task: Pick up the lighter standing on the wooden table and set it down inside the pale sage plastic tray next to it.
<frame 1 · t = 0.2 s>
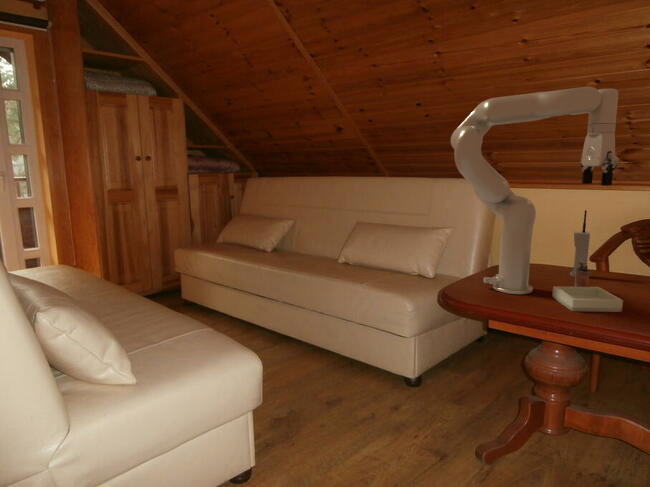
hand: (596, 184, 149), 36 cm above the table, tool pointing down, fingers open, 9 cm apart
tray: (585, 303, 142), on the table
lighter: (580, 291, 155), on the table
vintage mobile phone: (577, 276, 174), on the table
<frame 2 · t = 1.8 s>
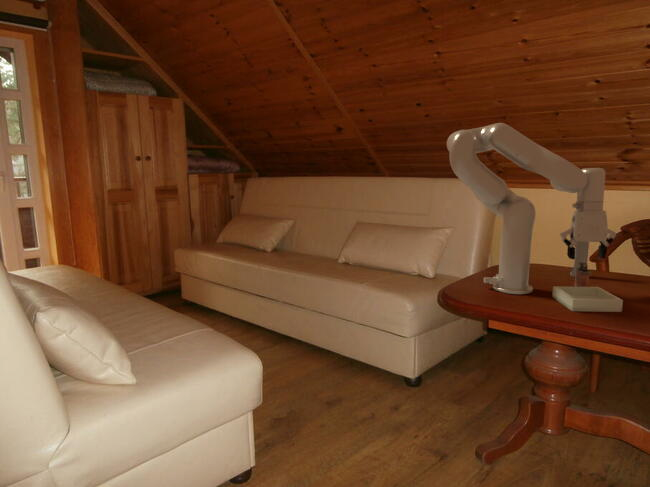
hand: (586, 258, 153), 11 cm above the table, tool pointing down, fingers open, 9 cm apart
nothing on the table moved.
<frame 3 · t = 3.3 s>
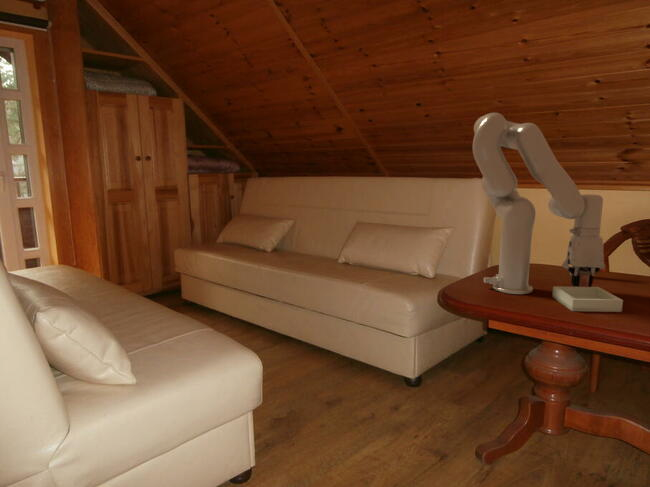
hand: (581, 285, 155), 2 cm above the table, tool pointing down, fingers closed on lighter, 3 cm apart
lighter: (580, 291, 155), on the table, touching gripper
everything else where it was.
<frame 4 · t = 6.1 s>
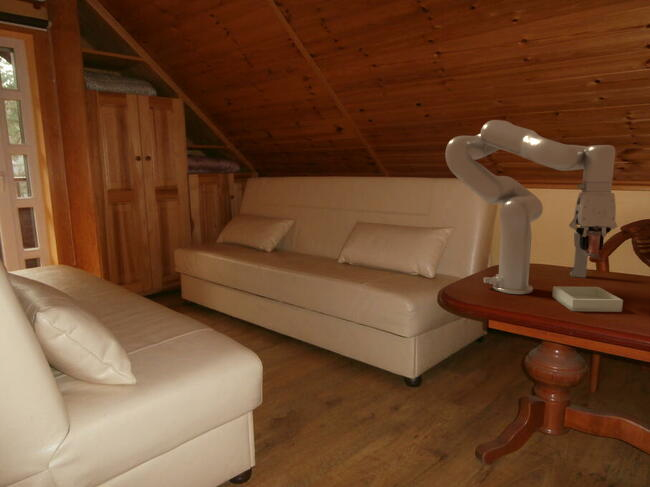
hand: (590, 248, 139), 17 cm above the table, tool pointing down, fingers closed on lighter, 3 cm apart
lighter: (590, 255, 140), point 15 cm above the table, touching gripper
everything else where it was.
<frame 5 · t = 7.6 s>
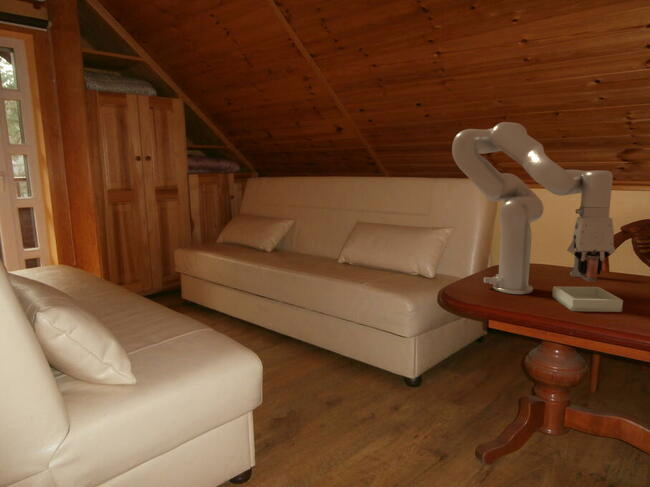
hand: (589, 272, 140), 10 cm above the table, tool pointing down, fingers closed on lighter, 3 cm apart
lighter: (588, 278, 140), point 8 cm above the table, touching gripper
everything else where it was.
when the fingers open (4 cm above the table, at t = 8.9 s): lighter drops 1 cm, point 1 cm above the table.
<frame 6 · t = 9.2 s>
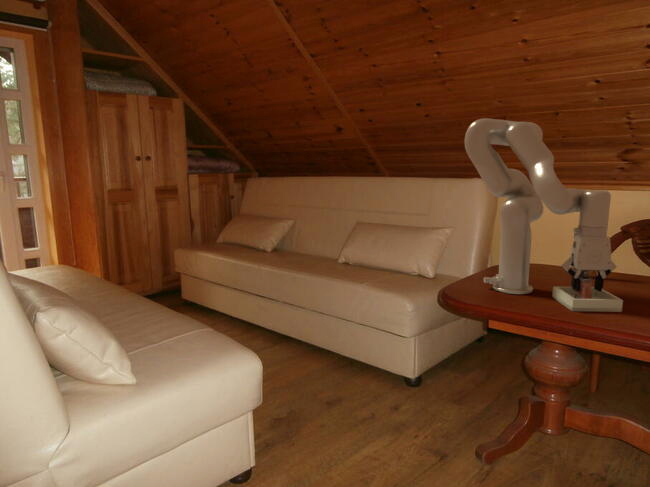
hand: (586, 289, 141), 5 cm above the table, tool pointing down, fingers open, 6 cm apart
lighter: (583, 300, 142), point 1 cm above the table, touching gripper
everything else where it was.
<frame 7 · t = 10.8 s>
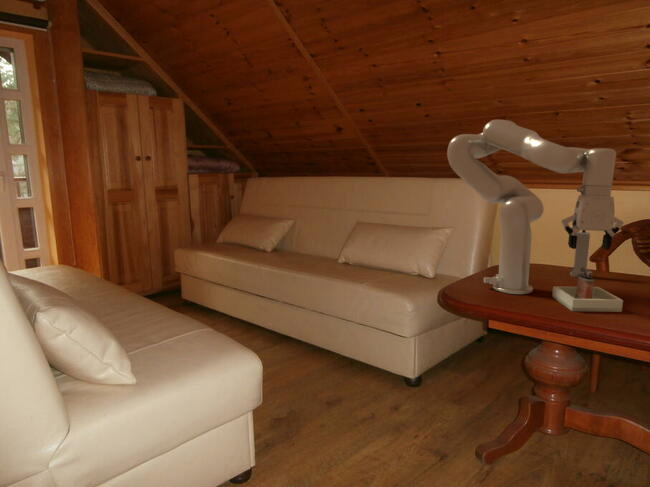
hand: (588, 248, 139), 17 cm above the table, tool pointing down, fingers open, 9 cm apart
lighter: (583, 301, 142), point 1 cm above the table, touching tray
everything else where it was.
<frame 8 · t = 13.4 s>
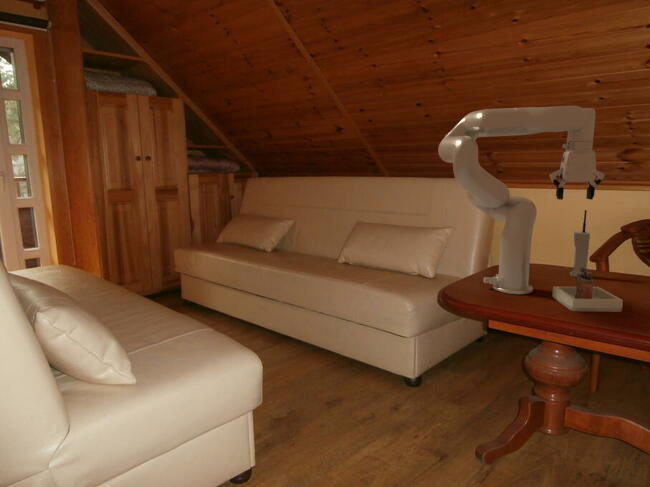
hand: (574, 199, 156), 30 cm above the table, tool pointing down, fingers open, 9 cm apart
nothing on the table moved.
at the end: lighter inside the target area on the tray (0.7 cm from its centre), point 0.8 cm above the tray's base; the gripper is holding nothing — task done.
